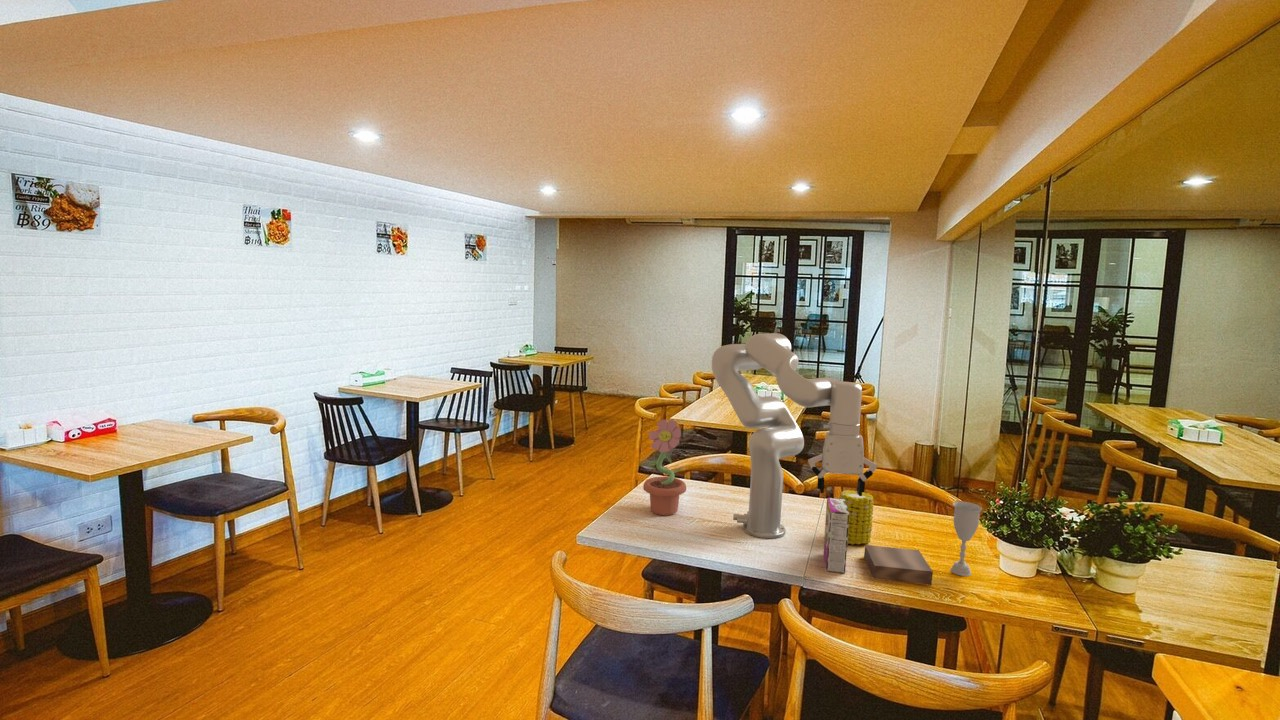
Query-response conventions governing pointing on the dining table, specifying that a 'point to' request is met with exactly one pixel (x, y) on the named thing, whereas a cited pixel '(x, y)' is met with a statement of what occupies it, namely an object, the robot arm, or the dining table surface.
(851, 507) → the food
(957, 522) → the chalice
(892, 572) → the walnut block
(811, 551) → the dining table surface
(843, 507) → the candy bar box
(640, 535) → the dining table surface
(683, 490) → the decorative flower
